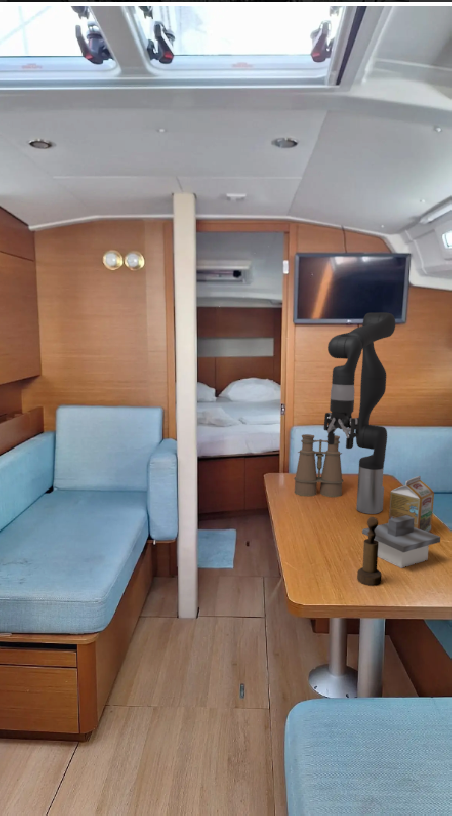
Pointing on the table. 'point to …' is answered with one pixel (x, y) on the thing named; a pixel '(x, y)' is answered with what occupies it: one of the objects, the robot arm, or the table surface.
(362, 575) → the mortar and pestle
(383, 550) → the white storage bin
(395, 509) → the milk carton
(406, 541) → the lid
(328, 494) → the binoculars
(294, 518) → the table surface
